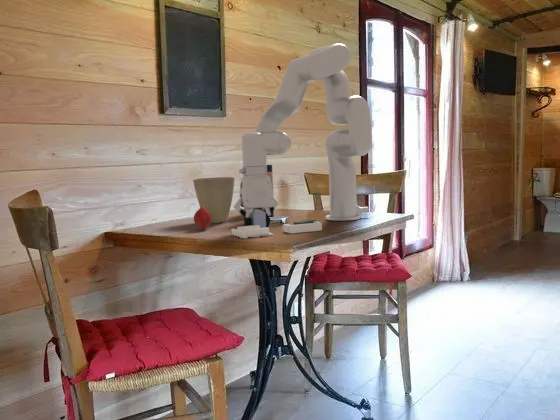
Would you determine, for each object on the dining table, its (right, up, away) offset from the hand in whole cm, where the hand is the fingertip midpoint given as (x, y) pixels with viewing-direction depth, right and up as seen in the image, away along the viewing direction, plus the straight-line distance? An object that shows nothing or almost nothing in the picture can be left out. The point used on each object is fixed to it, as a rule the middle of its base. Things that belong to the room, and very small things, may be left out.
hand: (257, 228), depth 185 cm
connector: (0, -1, 0) cm, 1 cm away
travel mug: (+1, +2, +26) cm, 26 cm away
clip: (+14, -1, -5) cm, 15 cm away
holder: (-1, -2, -10) cm, 10 cm away
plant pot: (-16, +1, +26) cm, 30 cm away
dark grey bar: (+15, -1, -2) cm, 15 cm away
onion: (-18, -1, +6) cm, 19 cm away
